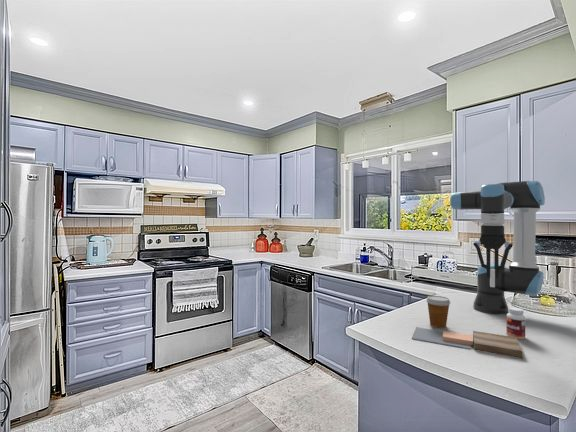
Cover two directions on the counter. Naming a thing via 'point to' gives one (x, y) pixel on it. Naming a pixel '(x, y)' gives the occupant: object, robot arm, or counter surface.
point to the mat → (435, 337)
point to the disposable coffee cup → (438, 310)
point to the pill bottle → (516, 323)
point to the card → (457, 337)
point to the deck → (497, 344)
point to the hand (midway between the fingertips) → (492, 286)
